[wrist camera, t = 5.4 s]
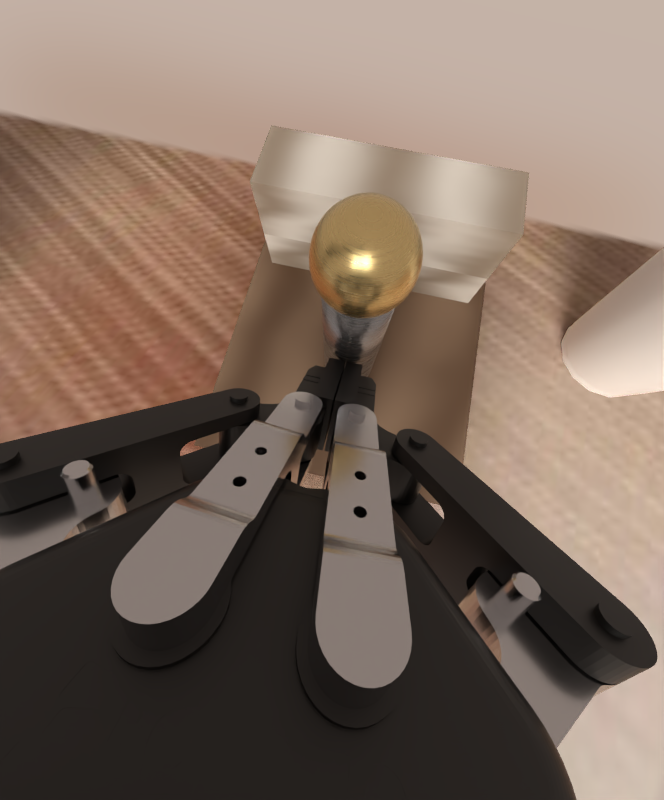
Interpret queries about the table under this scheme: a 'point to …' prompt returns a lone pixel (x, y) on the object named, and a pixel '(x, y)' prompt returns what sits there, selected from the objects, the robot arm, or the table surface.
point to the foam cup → (622, 337)
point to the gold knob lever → (363, 272)
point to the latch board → (412, 319)
